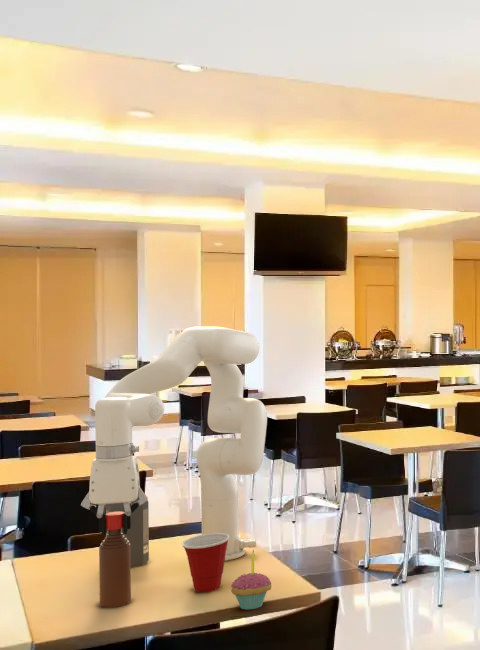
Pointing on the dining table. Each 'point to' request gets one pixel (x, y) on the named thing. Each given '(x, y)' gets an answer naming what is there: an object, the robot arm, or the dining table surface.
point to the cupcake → (251, 588)
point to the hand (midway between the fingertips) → (115, 532)
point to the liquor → (136, 531)
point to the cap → (114, 520)
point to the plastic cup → (206, 560)
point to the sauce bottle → (114, 570)
